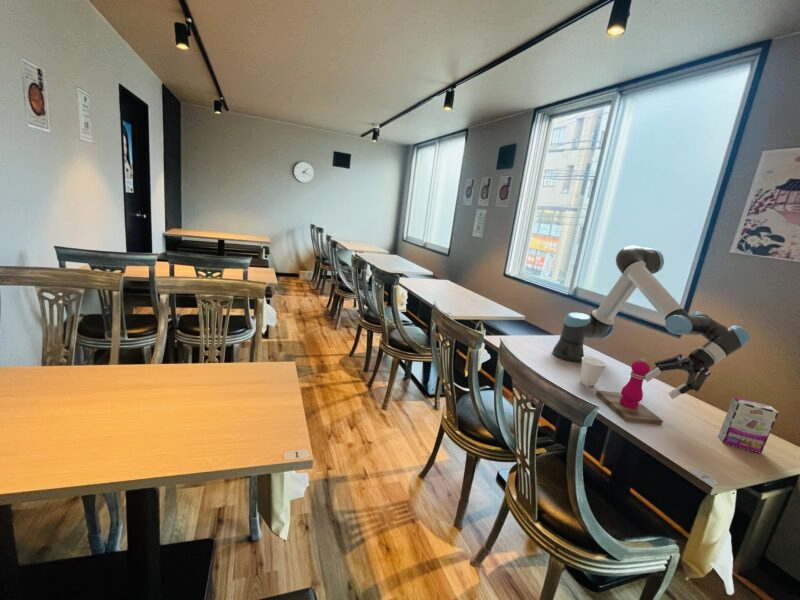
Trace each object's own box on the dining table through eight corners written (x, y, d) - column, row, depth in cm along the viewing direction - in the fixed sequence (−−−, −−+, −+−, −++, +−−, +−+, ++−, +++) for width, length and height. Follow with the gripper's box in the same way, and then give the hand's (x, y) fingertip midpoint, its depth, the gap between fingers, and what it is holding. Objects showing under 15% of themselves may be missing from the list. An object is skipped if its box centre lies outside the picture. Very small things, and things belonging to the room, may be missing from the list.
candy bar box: (754, 446, 131) (772, 405, 127) (761, 454, 127) (780, 412, 123) (716, 435, 135) (732, 396, 131) (722, 443, 130) (739, 402, 126)
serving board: (595, 394, 155) (597, 390, 154) (626, 397, 156) (628, 393, 155) (626, 421, 135) (627, 417, 135) (661, 425, 137) (663, 420, 136)
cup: (597, 391, 158) (604, 368, 155) (573, 382, 163) (579, 359, 161) (601, 384, 166) (608, 362, 163) (578, 376, 171) (584, 354, 169)
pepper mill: (643, 409, 143) (659, 362, 138) (629, 410, 141) (645, 362, 136) (627, 399, 150) (642, 354, 145) (613, 400, 147) (628, 354, 142)
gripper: (740, 377, 130) (687, 411, 132) (684, 350, 154) (640, 379, 156) (732, 362, 128) (678, 396, 131) (676, 337, 152) (632, 366, 155)
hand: (657, 387), depth 143 cm, fingers open, 13 cm apart
